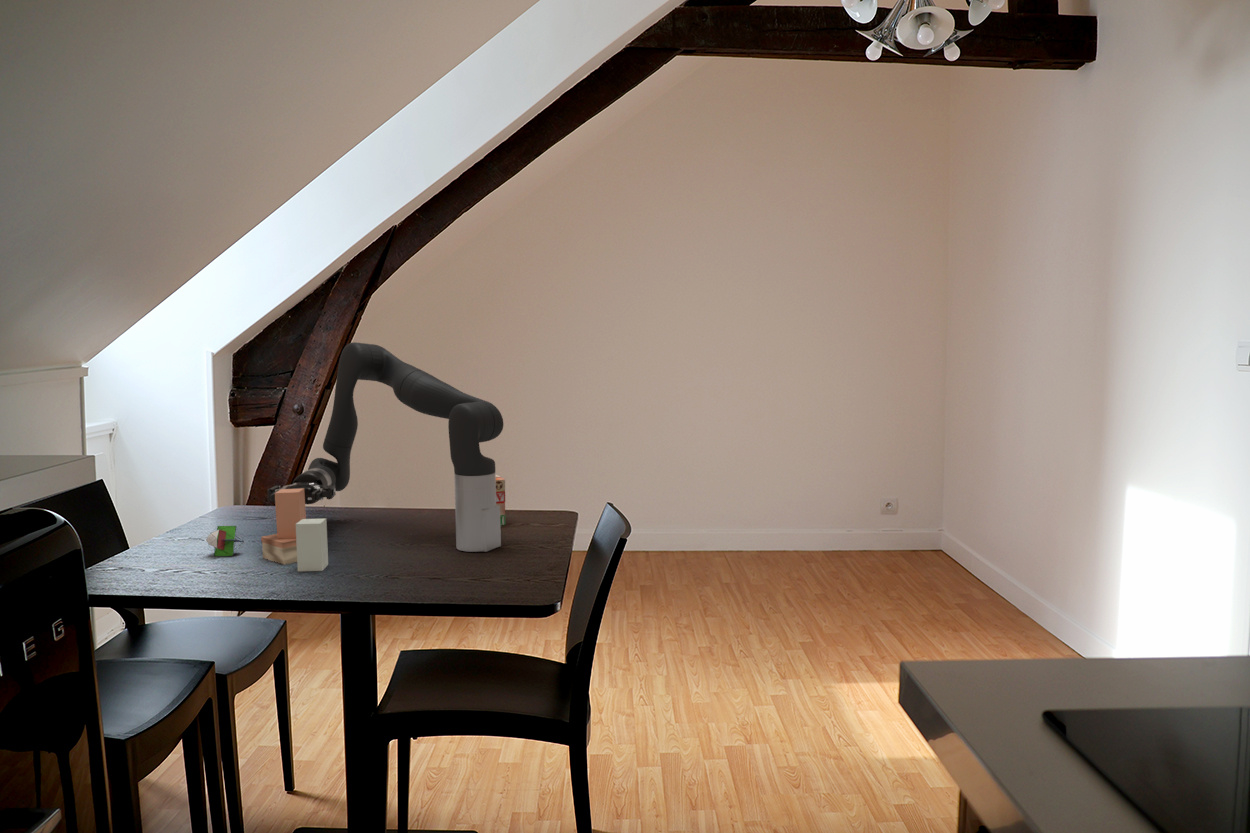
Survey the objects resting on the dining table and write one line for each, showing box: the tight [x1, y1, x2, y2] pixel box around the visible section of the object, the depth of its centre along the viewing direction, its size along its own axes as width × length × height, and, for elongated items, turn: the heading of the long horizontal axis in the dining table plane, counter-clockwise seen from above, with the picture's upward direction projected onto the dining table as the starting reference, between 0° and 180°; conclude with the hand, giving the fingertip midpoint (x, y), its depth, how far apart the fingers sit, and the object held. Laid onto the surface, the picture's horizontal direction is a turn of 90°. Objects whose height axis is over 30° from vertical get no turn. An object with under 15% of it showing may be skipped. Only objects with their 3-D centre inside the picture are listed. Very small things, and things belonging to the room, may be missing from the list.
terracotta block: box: [274, 488, 307, 539], centre depth 201 cm, size 5×5×10 cm
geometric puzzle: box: [205, 525, 245, 557], centre depth 204 cm, size 7×7×8 cm
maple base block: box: [260, 533, 297, 566], centre depth 201 cm, size 9×9×5 cm
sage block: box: [296, 518, 329, 572], centre depth 192 cm, size 5×5×10 cm
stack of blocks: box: [496, 474, 507, 527], centre depth 239 cm, size 21×6×12 cm, turn 25°
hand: (293, 498), depth 204 cm, fingers open, 8 cm apart
